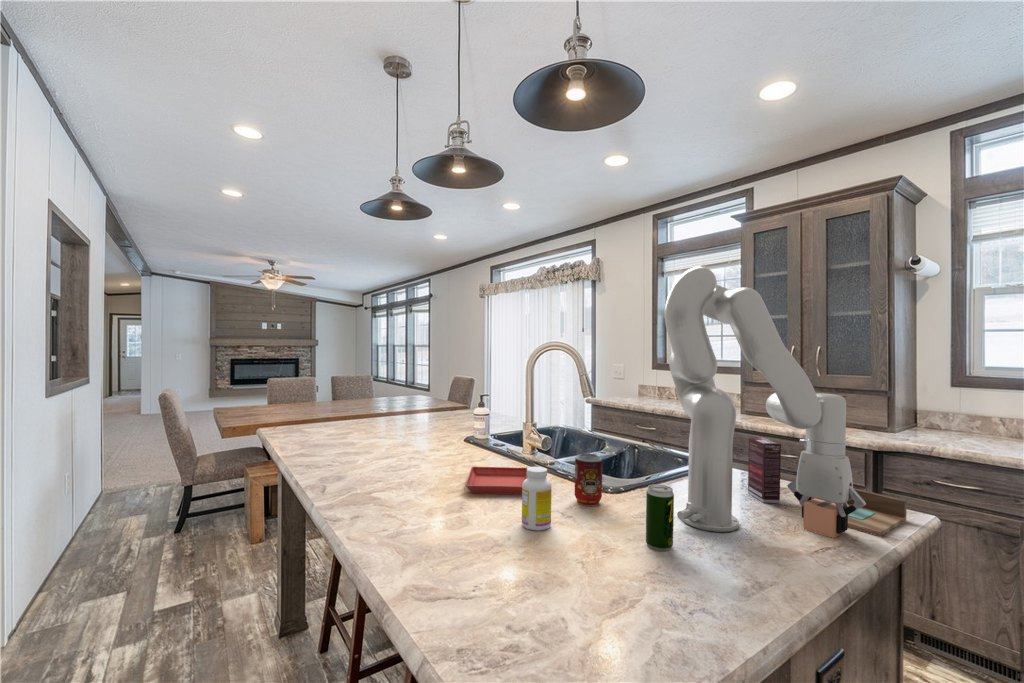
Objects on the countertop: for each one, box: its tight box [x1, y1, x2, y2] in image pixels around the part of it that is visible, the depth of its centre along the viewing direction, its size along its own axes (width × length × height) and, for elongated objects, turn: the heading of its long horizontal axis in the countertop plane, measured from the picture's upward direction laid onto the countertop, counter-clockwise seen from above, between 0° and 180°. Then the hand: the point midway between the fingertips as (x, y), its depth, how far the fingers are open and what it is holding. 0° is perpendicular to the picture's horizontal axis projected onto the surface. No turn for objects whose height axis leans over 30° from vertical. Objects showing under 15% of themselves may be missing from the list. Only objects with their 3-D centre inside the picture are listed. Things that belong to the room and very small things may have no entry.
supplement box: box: [747, 436, 782, 504], centre depth 127 cm, size 9×5×16 cm, turn 179°
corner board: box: [812, 487, 908, 537], centre depth 113 cm, size 17×15×5 cm
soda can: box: [574, 452, 603, 507], centre depth 121 cm, size 7×7×12 cm
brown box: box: [802, 498, 841, 539], centre depth 105 cm, size 6×6×6 cm
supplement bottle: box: [521, 466, 552, 532], centre depth 105 cm, size 7×7×13 cm
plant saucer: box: [465, 466, 528, 495], centre depth 134 cm, size 18×18×3 cm
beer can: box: [645, 483, 675, 552], centre depth 95 cm, size 5×5×12 cm
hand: (823, 526), depth 105 cm, fingers closed on brown box, 6 cm apart
